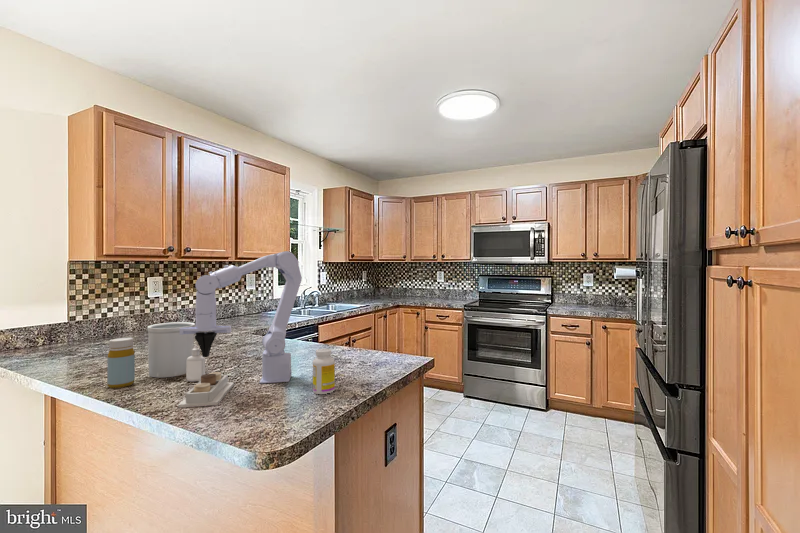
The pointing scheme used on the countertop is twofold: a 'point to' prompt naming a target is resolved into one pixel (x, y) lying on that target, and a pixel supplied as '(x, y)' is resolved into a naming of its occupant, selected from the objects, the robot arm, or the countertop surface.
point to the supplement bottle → (323, 372)
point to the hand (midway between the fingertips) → (205, 356)
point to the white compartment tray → (208, 394)
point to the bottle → (120, 363)
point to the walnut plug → (209, 379)
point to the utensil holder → (169, 349)
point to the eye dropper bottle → (195, 365)
